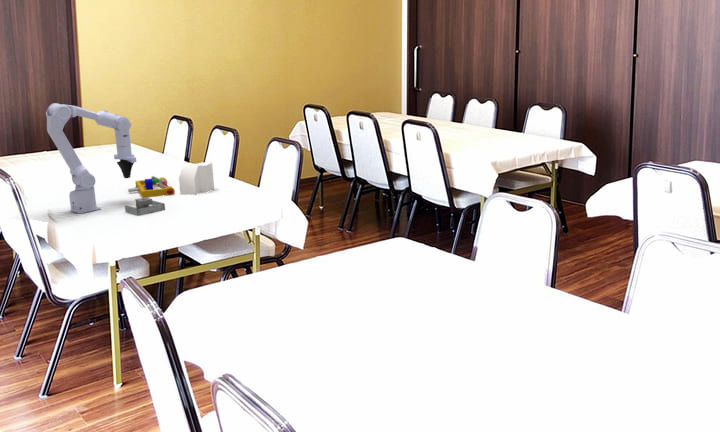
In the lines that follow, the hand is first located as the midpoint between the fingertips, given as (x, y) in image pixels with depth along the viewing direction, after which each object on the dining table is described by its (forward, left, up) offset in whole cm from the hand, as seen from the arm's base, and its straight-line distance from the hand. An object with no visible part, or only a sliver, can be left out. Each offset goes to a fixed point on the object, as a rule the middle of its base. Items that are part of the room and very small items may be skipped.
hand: (127, 177), depth 325 cm
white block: (+29, -7, -11) cm, 32 cm away
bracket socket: (-4, -19, -10) cm, 22 cm away
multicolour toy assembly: (+17, +13, -11) cm, 25 cm away
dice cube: (-5, -20, -11) cm, 23 cm away
